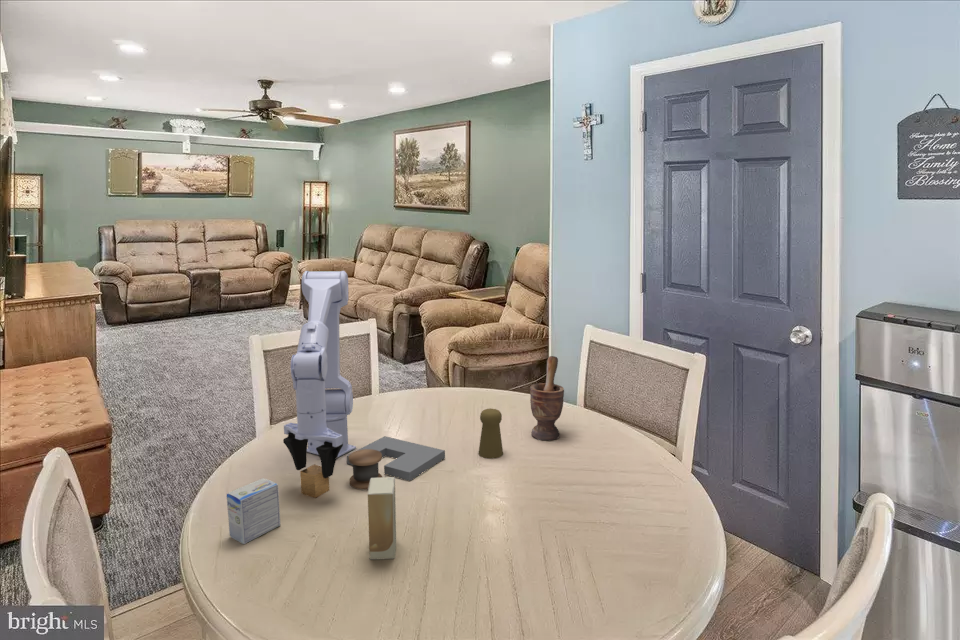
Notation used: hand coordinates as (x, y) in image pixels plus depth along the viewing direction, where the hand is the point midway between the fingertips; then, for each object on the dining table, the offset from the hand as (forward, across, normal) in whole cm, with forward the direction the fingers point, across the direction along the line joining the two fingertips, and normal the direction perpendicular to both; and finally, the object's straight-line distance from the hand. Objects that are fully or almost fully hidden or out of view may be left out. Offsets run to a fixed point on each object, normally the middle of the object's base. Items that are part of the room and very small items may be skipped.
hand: (314, 472), depth 125 cm
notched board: (+4, +5, +21) cm, 22 cm away
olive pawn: (+4, +22, +36) cm, 42 cm away
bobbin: (+4, +6, +9) cm, 12 cm away
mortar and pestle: (+4, +28, +55) cm, 62 cm away
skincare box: (+5, +26, -10) cm, 28 cm away
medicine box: (+5, +2, -17) cm, 18 cm away
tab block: (+4, 0, 0) cm, 5 cm away
